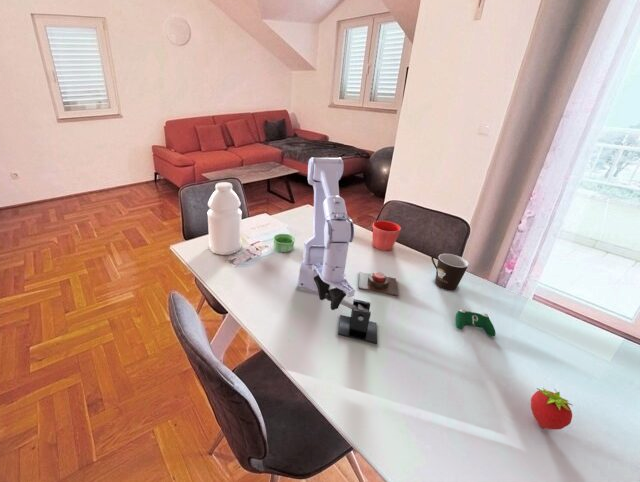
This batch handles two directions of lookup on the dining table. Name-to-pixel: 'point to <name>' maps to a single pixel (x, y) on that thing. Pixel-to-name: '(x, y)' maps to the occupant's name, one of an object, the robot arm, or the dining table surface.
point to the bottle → (224, 220)
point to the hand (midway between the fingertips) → (328, 303)
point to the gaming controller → (474, 321)
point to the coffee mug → (449, 271)
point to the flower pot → (385, 234)
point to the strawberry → (550, 410)
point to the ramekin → (283, 242)
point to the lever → (346, 303)
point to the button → (379, 277)
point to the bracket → (358, 324)
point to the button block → (378, 284)
